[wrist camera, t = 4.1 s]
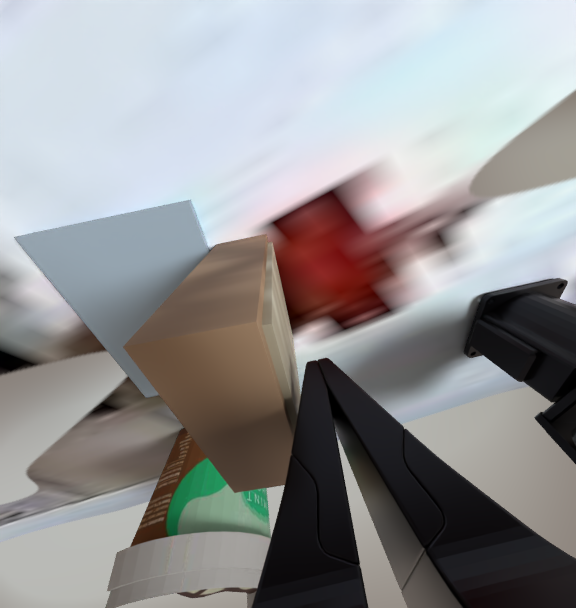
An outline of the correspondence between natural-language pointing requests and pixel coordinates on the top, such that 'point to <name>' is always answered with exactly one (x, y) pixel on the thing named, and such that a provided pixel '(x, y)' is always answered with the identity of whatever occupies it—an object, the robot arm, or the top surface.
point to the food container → (194, 535)
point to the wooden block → (228, 362)
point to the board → (120, 270)
